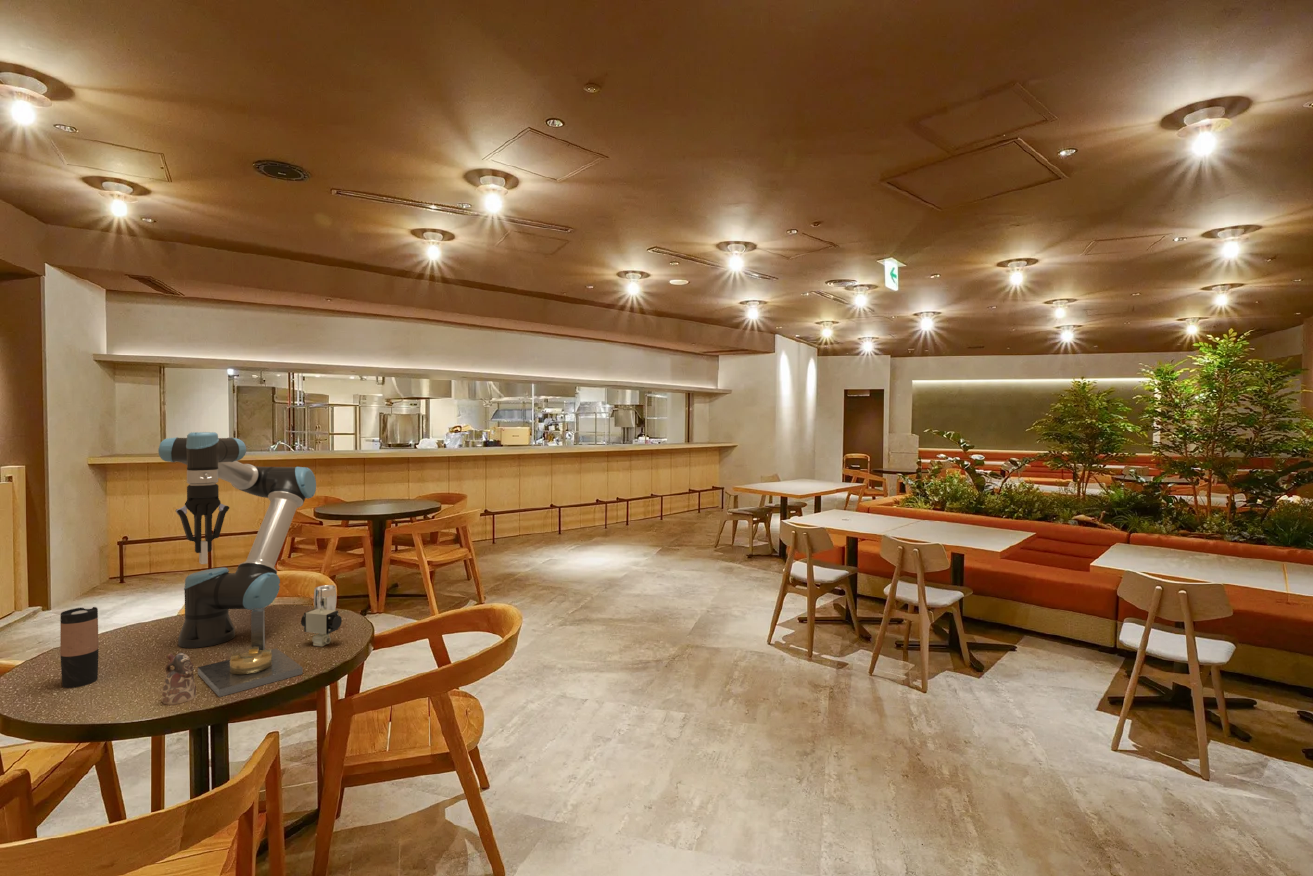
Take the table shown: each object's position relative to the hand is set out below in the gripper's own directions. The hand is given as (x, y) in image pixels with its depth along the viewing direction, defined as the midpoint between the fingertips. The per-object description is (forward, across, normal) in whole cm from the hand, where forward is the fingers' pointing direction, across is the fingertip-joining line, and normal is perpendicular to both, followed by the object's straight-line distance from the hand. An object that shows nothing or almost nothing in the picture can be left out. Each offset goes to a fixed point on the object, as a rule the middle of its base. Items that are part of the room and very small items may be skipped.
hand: (203, 563), depth 180 cm
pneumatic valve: (+31, +30, -8) cm, 44 cm away
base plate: (+30, +7, -18) cm, 36 cm away
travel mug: (+31, -26, +10) cm, 41 cm away
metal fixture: (+28, +9, -16) cm, 33 cm away
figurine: (+31, -10, -22) cm, 39 cm away
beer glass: (+31, +36, +6) cm, 48 cm away
